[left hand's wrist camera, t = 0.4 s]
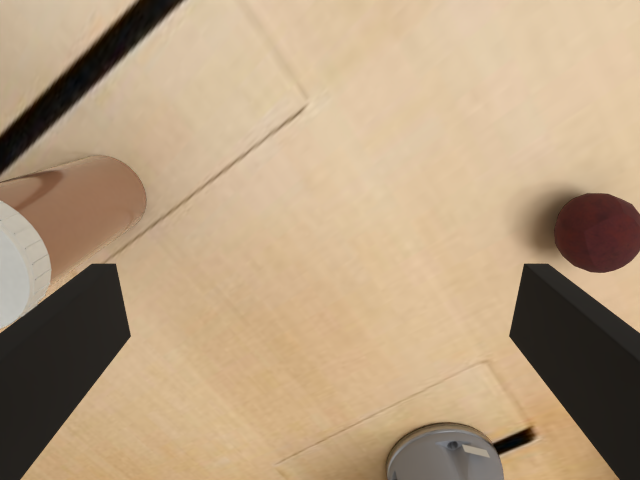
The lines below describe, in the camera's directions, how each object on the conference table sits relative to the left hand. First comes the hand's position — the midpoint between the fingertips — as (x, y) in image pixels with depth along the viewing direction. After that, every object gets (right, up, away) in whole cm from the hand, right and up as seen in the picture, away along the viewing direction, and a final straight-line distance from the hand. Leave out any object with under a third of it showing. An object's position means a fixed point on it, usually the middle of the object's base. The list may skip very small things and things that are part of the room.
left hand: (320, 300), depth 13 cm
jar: (-22, +7, +27) cm, 36 cm away
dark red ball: (+27, +4, +28) cm, 39 cm away
